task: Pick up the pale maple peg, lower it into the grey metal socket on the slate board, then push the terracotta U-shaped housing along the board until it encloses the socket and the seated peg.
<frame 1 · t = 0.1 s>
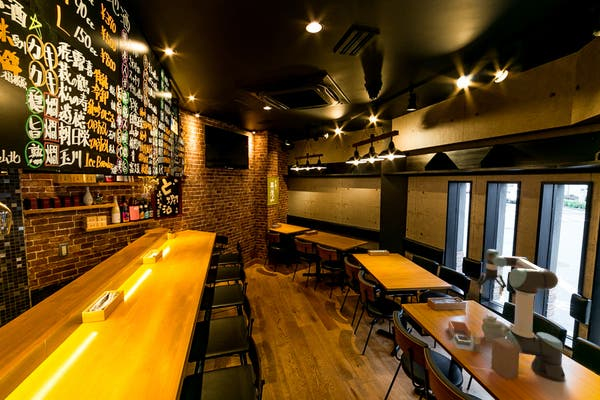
hand: (490, 294, 208), 28 cm above the table, fingers open, 13 cm apart
board: (463, 340, 192), on the table
wooden block: (504, 373, 159), on the table
teapot: (497, 341, 191), on the table
peg: (476, 349, 181), point 1 cm above the table, touching board
socket: (462, 342, 190), resting on board
housing: (459, 329, 198), point 5 cm above the table, slide at 8.0 cm
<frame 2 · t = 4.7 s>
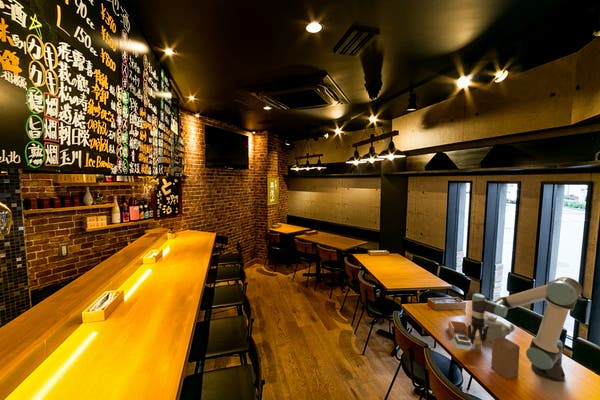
hand: (476, 348, 180), 2 cm above the table, fingers closed on peg, 4 cm apart
peg: (476, 349, 181), point 1 cm above the table, touching board, gripper
everything else where it was.
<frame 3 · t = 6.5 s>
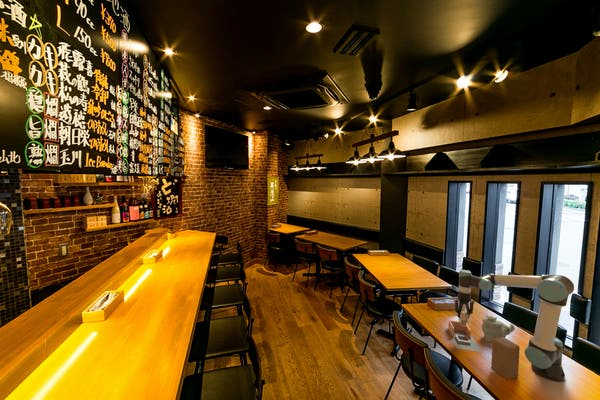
hand: (463, 321, 189), 16 cm above the table, fingers closed on peg, 4 cm apart
peg: (463, 325, 189), point 13 cm above the table, touching gripper
everything else where it was.
when the fingers open (4 cm above the table, at t = 8.8 s): peg stays where it is, resting on board.
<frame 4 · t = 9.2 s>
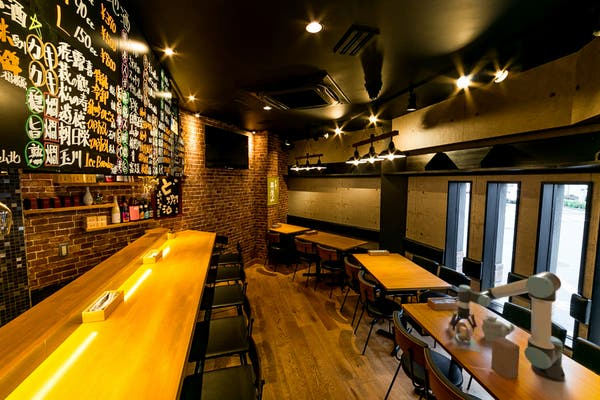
hand: (462, 335, 190), 5 cm above the table, fingers open, 10 cm apart
peg: (462, 340, 190), point 1 cm above the table, touching board
everything else where it was.
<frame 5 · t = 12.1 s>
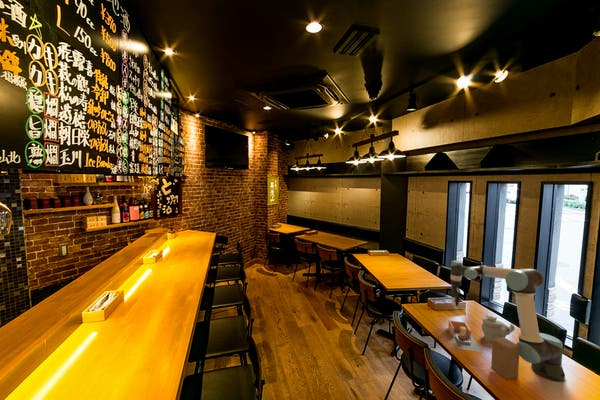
hand: (455, 307, 209), 17 cm above the table, fingers open, 6 cm apart
nothing on the table moved.
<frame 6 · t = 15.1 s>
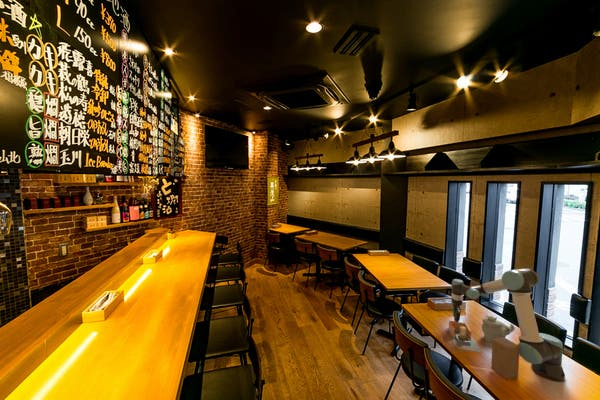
hand: (456, 327, 206), 2 cm above the table, fingers closed
housing: (459, 330, 197), point 5 cm above the table, slide at 7.1 cm, touching gripper
everything else where it was.
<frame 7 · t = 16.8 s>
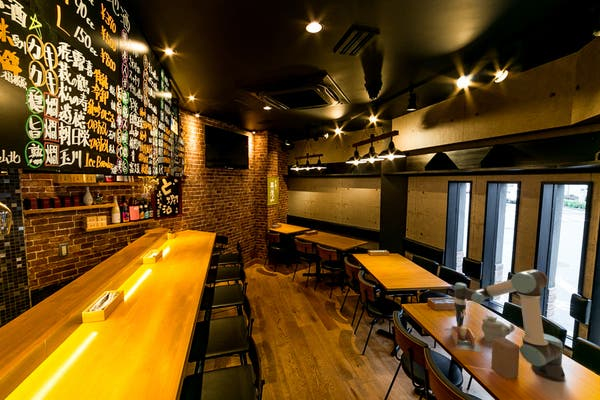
hand: (459, 332, 198), 2 cm above the table, fingers closed
housing: (462, 335, 190), point 5 cm above the table, slide at -0.5 cm, touching gripper
everything else where it was.
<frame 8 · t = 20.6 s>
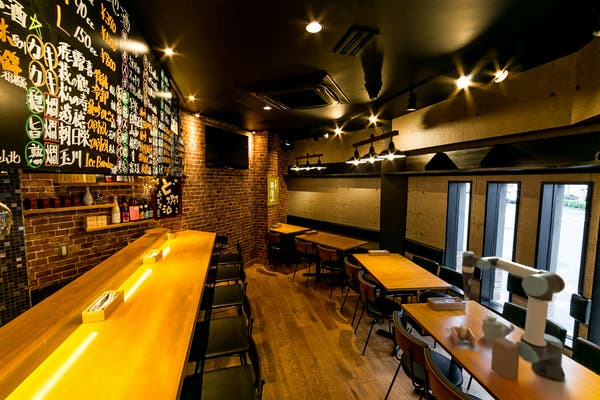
hand: (466, 300, 200), 26 cm above the table, fingers closed
housing: (462, 335, 190), point 5 cm above the table, slide at -0.5 cm
everything else where it was.
at the end: peg 0.1 cm off-centre on the socket, point 1.2 cm above the socket's base; peg tilted 5°; housing slide at -0.5 cm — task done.
